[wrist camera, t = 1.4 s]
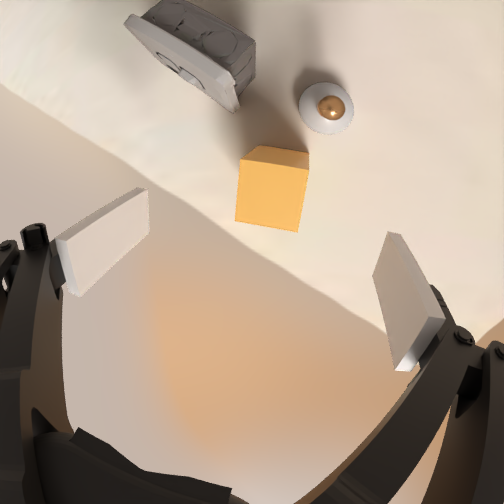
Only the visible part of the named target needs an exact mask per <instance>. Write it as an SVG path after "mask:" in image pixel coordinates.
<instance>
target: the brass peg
mask: <svg viewBox="0 0 504 504" xmlns="http://www.w3.org/2000/svg"><path fill="white" fill-rule="evenodd" d="M316 108H317V112H318V113H319V115H320V116H322V117H324V118H326V119H328V120H333V121H334V120H338V119H340V118H341V117H342V116H343V115H344V113H345V104H344V102H343V101H342V100H341V99H340V98H339V97H337V96H334V95H329V96H326V97H324V98H323V99H321V100H320V101H319V102H318V103H317V107H316Z"/></svg>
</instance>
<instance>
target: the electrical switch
mask: <svg viewBox="0 0 504 504" xmlns="http://www.w3.org/2000/svg"><path fill="white" fill-rule="evenodd" d="M176 2H177V3H176ZM185 10H186V11H185ZM183 19H184V20H183ZM123 25H124V26H125V27H126V28H127V29H128V30H129V31H130V32H131V33H132V34H133V35H134V36H135V37H136V38H137V39H138V40H139V41H140V42H141V43H142V44H143V45H144V46H145V47H146V48H147V49H148V50H149V51H150V52H151V53H152V54H153V56H154V57H156V58H157V59H158V60H159V61H160V62H161V63H162V64H164V65H165V66H167V67H168V68H170V69H171V70H173V71H174V72H176V73H177V74H178V75H179V76H180V77H182V78H183V79H184V80H186V81H187V82H189V83H190V84H192V85H194V86H196V87H197V88H198V89H200V90H201V91H203V92H204V93H205V94H207V95H208V96H209V97H211V98H212V99H213V100H215V101H216V102H217V103H219V104H220V105H221V106H223V107H224V108H225V109H227V110H228V111H230V112H232V113H235V112H236V111H237V110H238V109H239V108H240V104H239V102H238V99H237V97H238V96H239V95H240V94H241V93H242V92H243V90H244V89H245V88H246V86H247V85H248V84H249V83H250V82H251V81H252V80H253V79H254V78H255V54H256V42H255V40H253V39H252V38H250V37H249V36H247V35H246V34H244V33H243V32H241V31H239V30H238V29H236V28H235V27H233V26H231V25H230V24H228V23H226V22H225V21H223V20H221V19H219V18H218V17H216V16H214V15H212V14H210V13H209V12H207V11H205V10H203V9H201V8H199V7H197V6H195V5H193V4H191V3H189V2H187V1H185V0H162V1H160V2H159V3H158V4H157V5H156V6H154V7H152V8H151V9H150V10H149V11H147V12H146V13H145V14H144V15H143V16H142V17H138V16H136V15H134V14H132V15H130V16H129V18H128V19H127V20H126V21H125V23H124V24H123ZM211 32H212V33H211ZM231 32H232V33H233V34H232V33H231ZM210 33H211V34H210ZM201 36H202V37H201ZM254 42H255V43H254ZM253 43H254V44H253ZM252 44H253V45H252ZM250 45H251V46H250ZM249 46H250V47H249ZM248 47H249V48H248ZM247 48H248V49H247ZM246 49H247V50H246Z"/></svg>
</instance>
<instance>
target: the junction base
mask: <svg viewBox="0 0 504 504" xmlns="http://www.w3.org/2000/svg"><path fill="white" fill-rule="evenodd" d="M329 95H334V96H337V97H339V98H340V99H341V100H342V101H343V102H344V104H345V113H344V115H343V116H342V117H341V118H340V119H338V120H334V121H333V120H328V119H326V118H324V117H322V116H320V115H319V113H318V112H317V108H316V107H317V103H318V102H319V101H320V100H321V99H323V98H324V97H326V96H329ZM299 113H300V116H301V118H302V120H303V122H304V123H305V124H306V125H307V126H308V127H309V128H310V129H311V130H313V131H315V132H317V133H320V134H324V135H332V134H337V133H339V132H341V131H343V130H344V129H346V128H347V127H348V126H349V124H350V123H351V121H352V119H353V115H354V106H353V102H352V99H351V97H350V96H349V94H348V93H347V92H346V91H345V90H344V89H343V88H341V87H340V86H338V85H336V84H333V83H329V82H320V83H316V84H313V85H311V86H310V87H308V88H307V89H306V90H305V91H304V92H303V94H302V95H301V98H300V101H299Z"/></svg>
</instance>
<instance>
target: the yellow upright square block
mask: <svg viewBox="0 0 504 504" xmlns="http://www.w3.org/2000/svg"><path fill="white" fill-rule="evenodd" d="M308 174H309V153H305V152H300V151H294V150H288V149H282V148H275V147H269V146H262V145H258V146H257V147H256V148H254V149H253V150H252V151H250V152H249V153H248V154H247V155H245V156H244V157H243V158H241V159H240V168H239V179H238V190H237V201H236V212H235V221H237V222H243V223H248V224H254V225H260V226H265V227H271V228H276V229H282V230H287V231H292V232H298V228H299V223H300V217H301V212H302V207H303V202H304V196H305V191H306V185H307V179H308Z"/></svg>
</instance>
